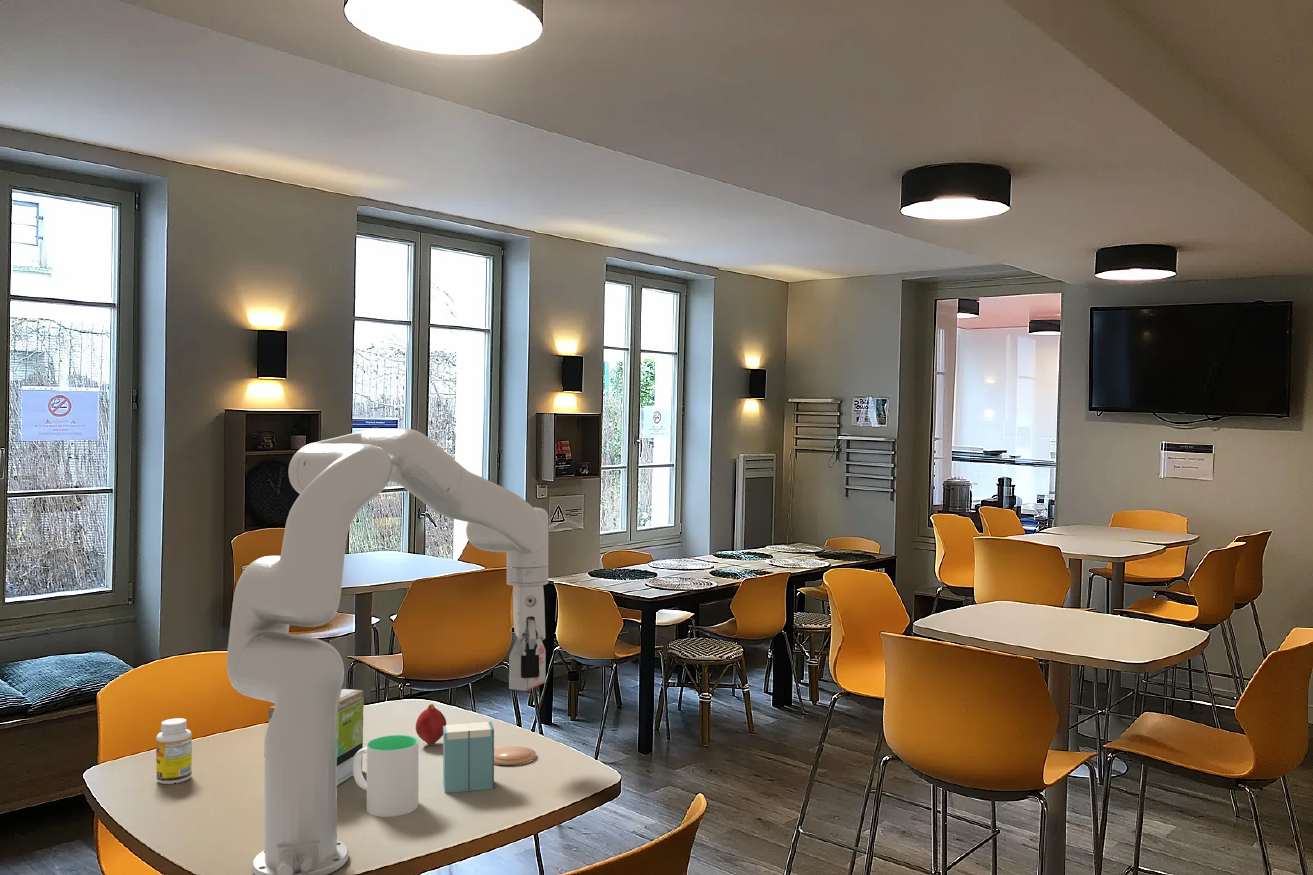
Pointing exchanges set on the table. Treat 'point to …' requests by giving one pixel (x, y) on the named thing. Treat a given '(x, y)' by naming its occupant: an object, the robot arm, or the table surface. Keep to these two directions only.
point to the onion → (430, 725)
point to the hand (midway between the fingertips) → (527, 671)
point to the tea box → (346, 731)
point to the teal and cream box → (468, 757)
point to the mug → (389, 775)
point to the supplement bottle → (174, 752)
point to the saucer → (513, 755)
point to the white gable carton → (515, 668)
